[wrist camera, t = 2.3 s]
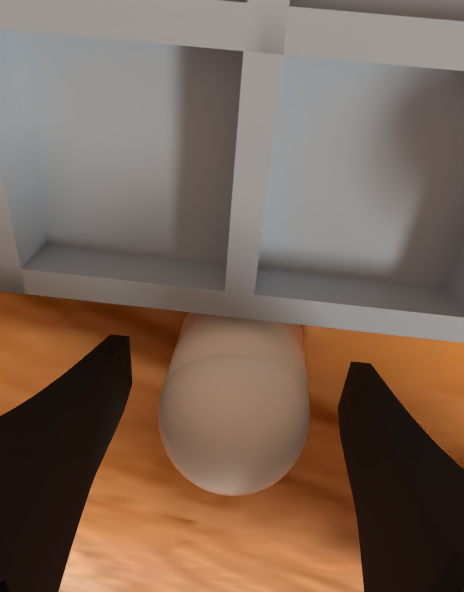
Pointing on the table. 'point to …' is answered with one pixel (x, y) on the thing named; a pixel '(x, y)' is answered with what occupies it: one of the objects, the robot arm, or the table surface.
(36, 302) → the table surface
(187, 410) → the light brown egg
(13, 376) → the table surface
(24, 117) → the egg tray
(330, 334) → the table surface
